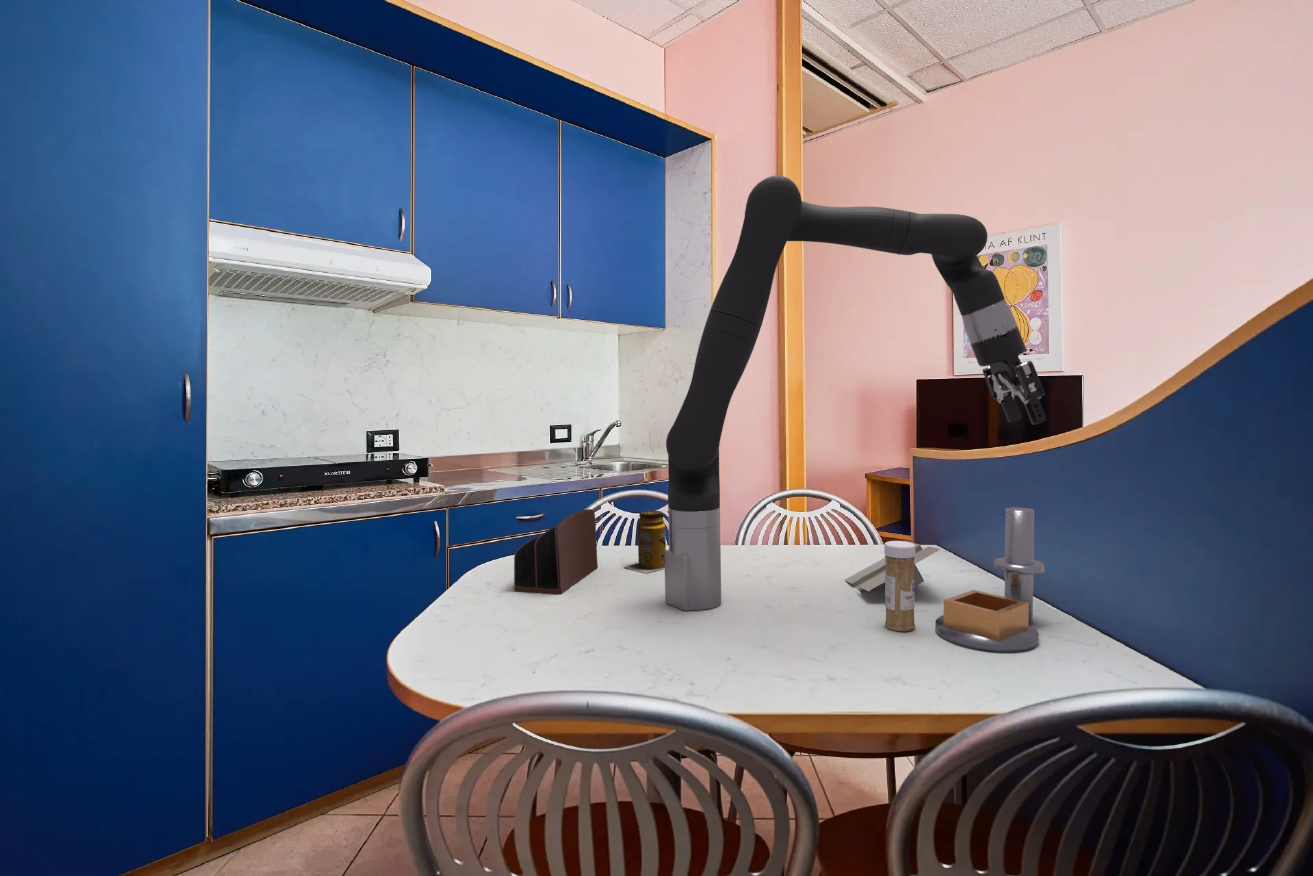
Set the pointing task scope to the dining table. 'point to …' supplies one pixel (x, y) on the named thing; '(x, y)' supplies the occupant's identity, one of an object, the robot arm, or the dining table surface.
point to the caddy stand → (999, 598)
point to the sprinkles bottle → (899, 585)
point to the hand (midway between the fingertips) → (1027, 421)
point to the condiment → (650, 542)
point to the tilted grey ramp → (877, 571)
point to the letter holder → (558, 556)
